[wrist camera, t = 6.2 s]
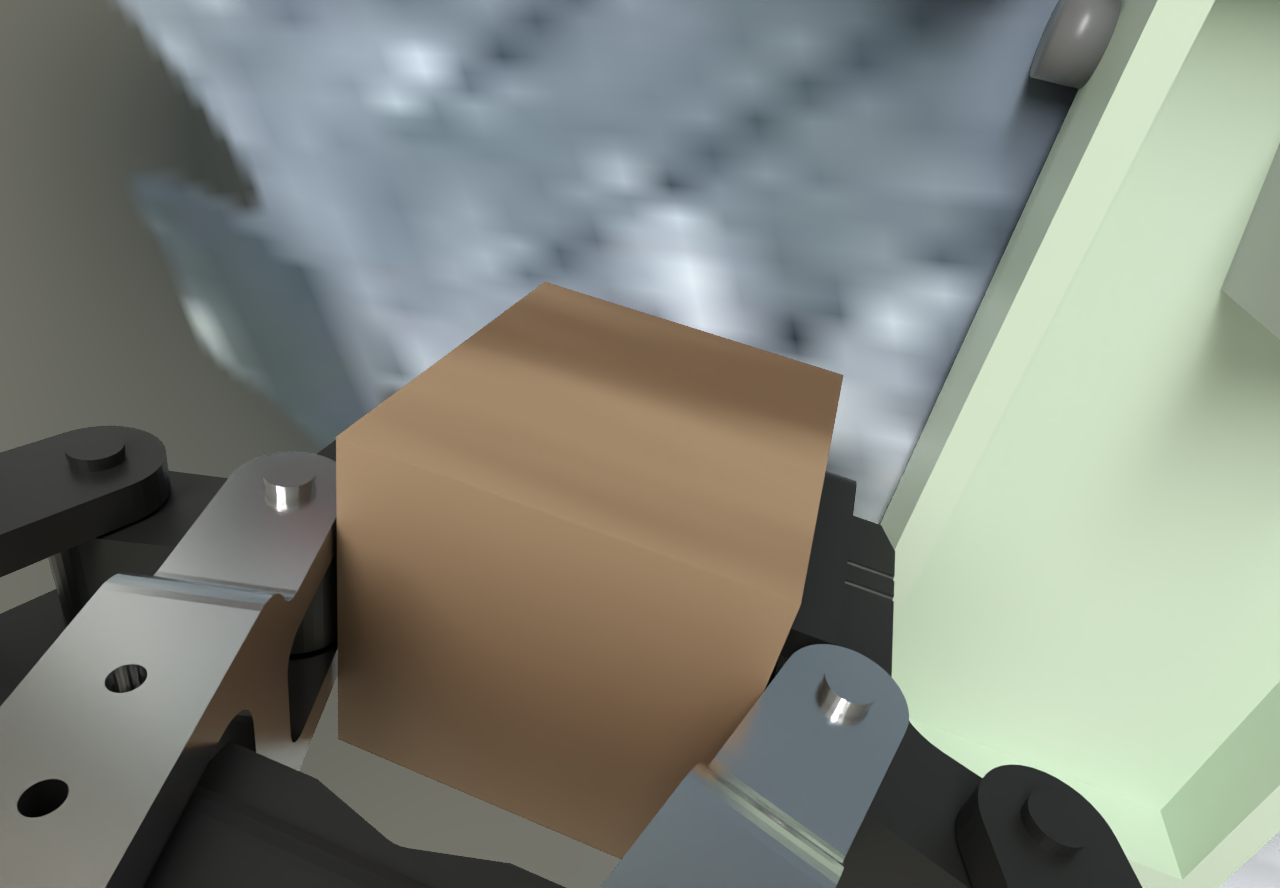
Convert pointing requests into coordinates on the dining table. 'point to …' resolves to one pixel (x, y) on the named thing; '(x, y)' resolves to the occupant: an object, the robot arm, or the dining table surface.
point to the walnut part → (575, 557)
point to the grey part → (1260, 257)
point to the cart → (1116, 457)
